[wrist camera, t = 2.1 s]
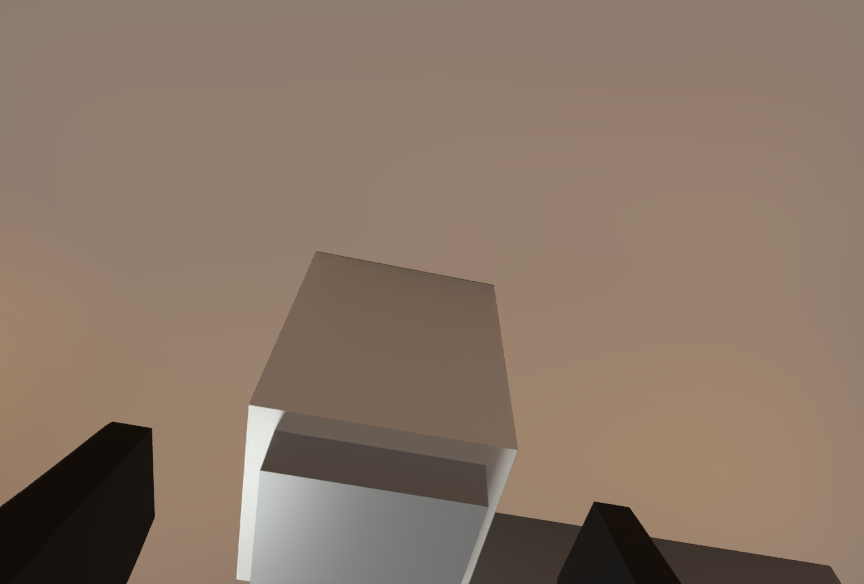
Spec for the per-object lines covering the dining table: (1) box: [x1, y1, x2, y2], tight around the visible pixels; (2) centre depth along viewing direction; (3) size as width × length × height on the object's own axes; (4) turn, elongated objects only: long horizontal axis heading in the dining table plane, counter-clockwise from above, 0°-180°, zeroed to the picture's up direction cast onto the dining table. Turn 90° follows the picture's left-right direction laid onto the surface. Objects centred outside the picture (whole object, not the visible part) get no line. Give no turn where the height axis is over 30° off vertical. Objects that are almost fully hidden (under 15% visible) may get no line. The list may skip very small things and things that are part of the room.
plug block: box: [236, 251, 518, 584], centre depth 12 cm, size 4×4×6 cm
